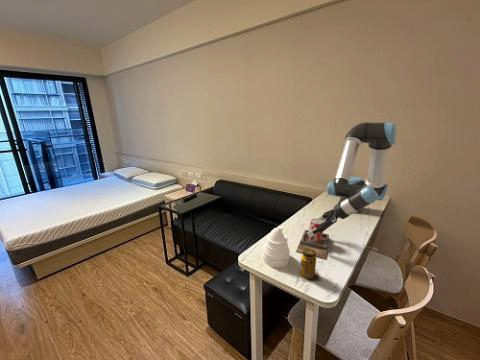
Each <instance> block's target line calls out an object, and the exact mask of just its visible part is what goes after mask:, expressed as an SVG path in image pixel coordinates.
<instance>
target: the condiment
mask: <svg viewBox="0 0 480 360" xmlns="http://www.w3.org/2000/svg"><path fill="white" fill-rule="evenodd" d="M316 265H317V257H316V253H315V251H314V250H312V249H304V250H303V254H302V255H301V262H300V269H297V270H298V271H297V272H298V274H299V277H300V279H301V281H302V282H313V281H315V282H319V281H323V280H322V277H321V275H320V274H319V271H318V269H316Z"/></svg>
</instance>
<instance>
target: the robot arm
mask: <svg viewBox="0 0 480 360" xmlns="http://www.w3.org/2000/svg"><path fill="white" fill-rule="evenodd" d="M396 142H397V125H396V123H394V122H360V123H358V124H356V125H354V126H353V127H352V128H351V129H350V130H349V131H348V132H347V133H346V135H345V136H344V139H343V144H344V146H343V150H342V153H341V156H340V159H339V163H338V166H337V169H336V173H335V176H334V179H333V180H330V181H329V182H328V183H327V187H326V193H327V194H328V195H330V196H333V197H337V198H339V200H338V201H337V203H336V204H335V205H334V206H333V208H332V209H330V210H328V211H325V212H323V214H322V215H321V216H319V217H318V218H316V219H320V220H322V222H323V223H322V224H321V225H320V226H319V227H317V226H316V228H314V229H313V230H311V231H309V232H307V234H308V235H309V237H312V236H314V235H316V234H317V233H319V232H320V233H322V232H323V233H324V232H326V230H327V229H329V228H330V227H331V226H332V225H334V224H335V223H337V222H338V219H341V220H345V219H347V218H348V217H350V216H351V215H353V214H357V213H359V212H361V210H362V209H363V208H366V207H368V206H369V205H371V204H374V203H375V202H376V201H383V200H384V198H385V196H386V194H387V190H388V185H389V184H387V183H386V181H385V179H384V176H385V171H386V164H387V159H388V151H389V150H390V149H391V148H392V147H393V145H395V144H396ZM362 144H368V145H367V146H368V148H369V149H370V154H369V164H368V172H367V177H366V178H365V179H363V178H362V177H359V176H352V174H353V169H354V166H355V162H356V158H357V155H358V152H359V149H360V147H361V146H362ZM358 211H359V212H358Z"/></svg>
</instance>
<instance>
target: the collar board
mask: <svg viewBox="0 0 480 360" xmlns="http://www.w3.org/2000/svg"><path fill="white" fill-rule="evenodd" d="M307 232H309V229H304V232H303V234H302V236H301V239H300V240H299V244H298V245H297V248H296V250H295V253H297V254H298V253H299V254H302V255H303V250H304V249H312V250H314V251H315V253H316V259H317V258H318V259H322V260H326V257H327V251H328V246H329V243H330V235H329V234H328V233H324V232H323V236H322V241H321V242H320V243H312V242H311V241H310V240H309V235H308V234H307Z"/></svg>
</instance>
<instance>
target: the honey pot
mask: <svg viewBox="0 0 480 360" xmlns="http://www.w3.org/2000/svg"><path fill="white" fill-rule="evenodd" d="M283 230H284V226H282V225H279V226H277V227H274V228H273V229H272V230H271V231H270V233H268V234H267V235H266V240H265V241H264V245H263V247H262V260H263V262H264V263H265V264H266V265H267V266H268V267H271V268H275V269H276V268H279V269H280V268H283V267H286V266H287V265H288V264H289V263H290V254H291V253H290V252H291V251H290V247H289V244H288V241H289V238H288V236H287V235H286V234H285V233H283Z"/></svg>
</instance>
